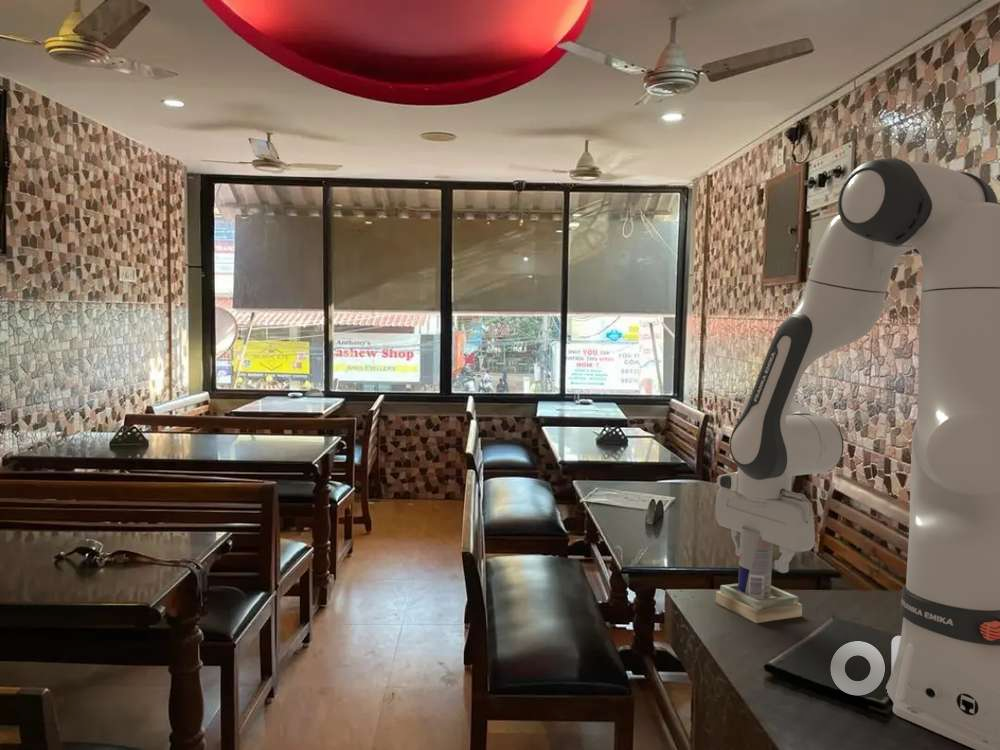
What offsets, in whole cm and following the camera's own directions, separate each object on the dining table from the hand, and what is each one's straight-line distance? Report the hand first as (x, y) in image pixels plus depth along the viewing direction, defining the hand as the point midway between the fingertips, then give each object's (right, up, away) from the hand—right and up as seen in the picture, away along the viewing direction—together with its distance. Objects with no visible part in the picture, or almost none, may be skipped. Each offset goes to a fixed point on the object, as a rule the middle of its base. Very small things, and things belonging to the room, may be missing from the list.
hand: (760, 563), depth 124 cm
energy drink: (-1, -6, +1) cm, 6 cm away
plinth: (0, -8, 0) cm, 8 cm away
